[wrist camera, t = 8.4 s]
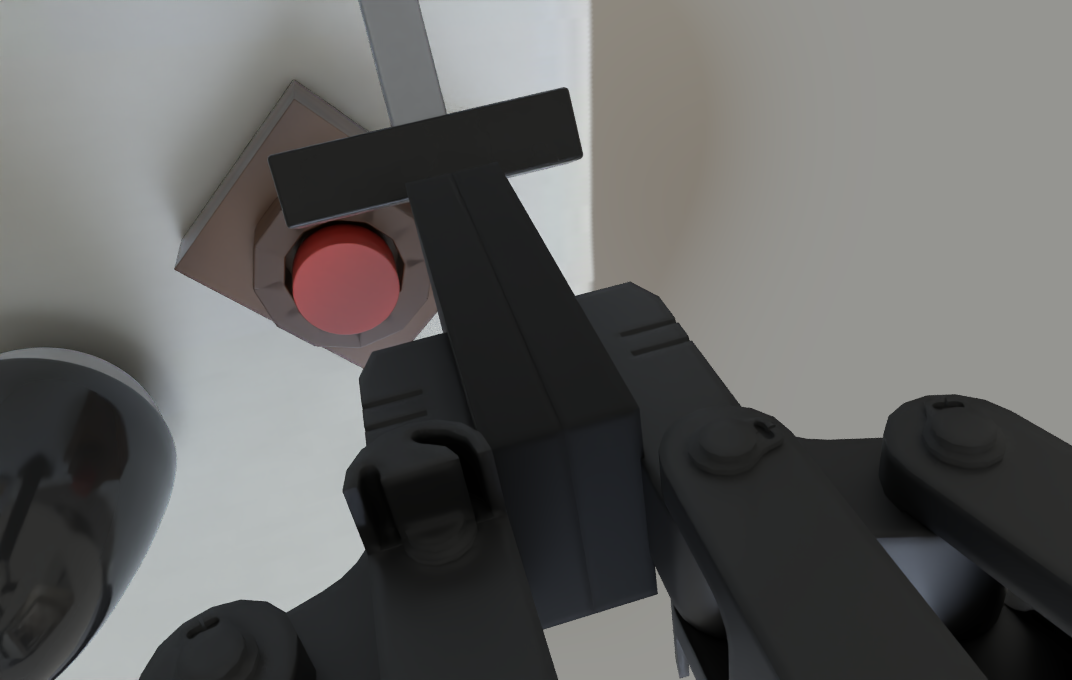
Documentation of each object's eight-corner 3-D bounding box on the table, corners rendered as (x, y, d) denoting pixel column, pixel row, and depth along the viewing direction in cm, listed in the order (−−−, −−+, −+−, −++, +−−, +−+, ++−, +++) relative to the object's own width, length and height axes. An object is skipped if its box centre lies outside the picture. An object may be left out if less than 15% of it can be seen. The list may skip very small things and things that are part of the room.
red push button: (272, 282, 32) (271, 303, 31) (330, 204, 31) (332, 223, 30) (357, 328, 34) (360, 351, 33) (414, 257, 33) (420, 277, 32)
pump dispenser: (-111, 444, 36) (-317, 773, 24) (-5, 269, 33) (-178, 540, 21) (118, 521, 42) (46, 824, 29) (227, 375, 39) (197, 643, 26)
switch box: (181, 240, 35) (168, 291, 31) (293, 78, 32) (294, 113, 29) (376, 347, 40) (385, 401, 36) (486, 214, 38) (507, 258, 34)
